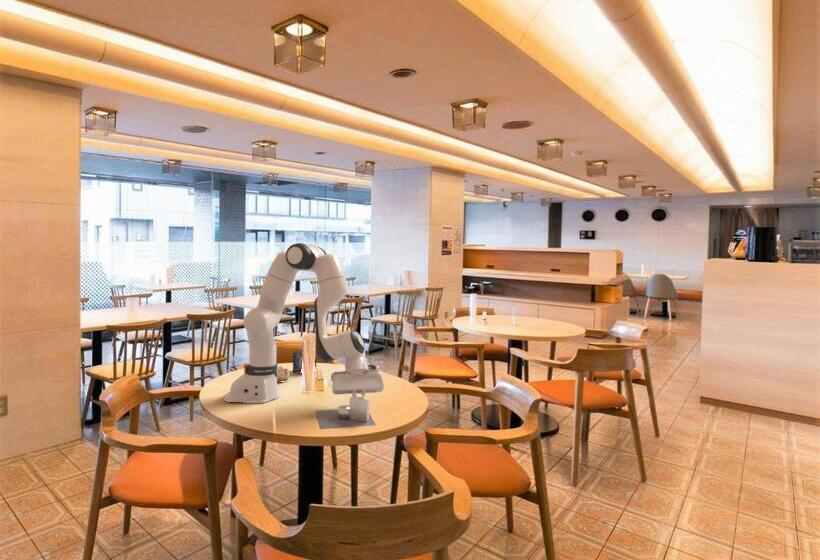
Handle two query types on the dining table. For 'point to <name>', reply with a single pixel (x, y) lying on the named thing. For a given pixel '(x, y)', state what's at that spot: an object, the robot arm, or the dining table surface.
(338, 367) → the dining table surface
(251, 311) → the robot arm
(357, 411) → the grey block with knob
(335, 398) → the dining table surface
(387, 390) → the dining table surface
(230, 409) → the dining table surface
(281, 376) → the trinket box
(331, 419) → the base plate
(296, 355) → the small box
